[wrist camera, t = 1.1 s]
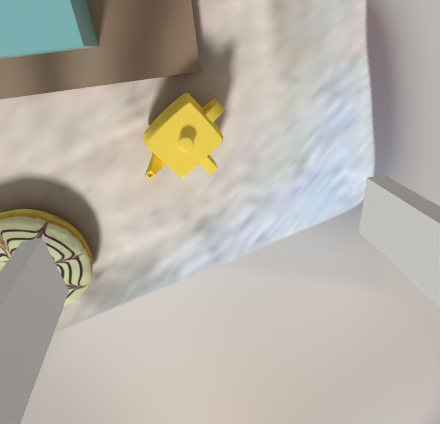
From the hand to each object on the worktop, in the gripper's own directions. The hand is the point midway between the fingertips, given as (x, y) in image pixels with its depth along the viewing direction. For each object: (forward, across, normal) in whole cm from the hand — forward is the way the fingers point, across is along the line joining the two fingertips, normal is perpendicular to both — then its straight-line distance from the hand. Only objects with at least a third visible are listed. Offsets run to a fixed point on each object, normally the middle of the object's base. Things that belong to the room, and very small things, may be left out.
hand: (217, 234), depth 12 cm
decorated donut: (+17, -16, -9) cm, 25 cm away
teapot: (+17, 0, 0) cm, 17 cm away
